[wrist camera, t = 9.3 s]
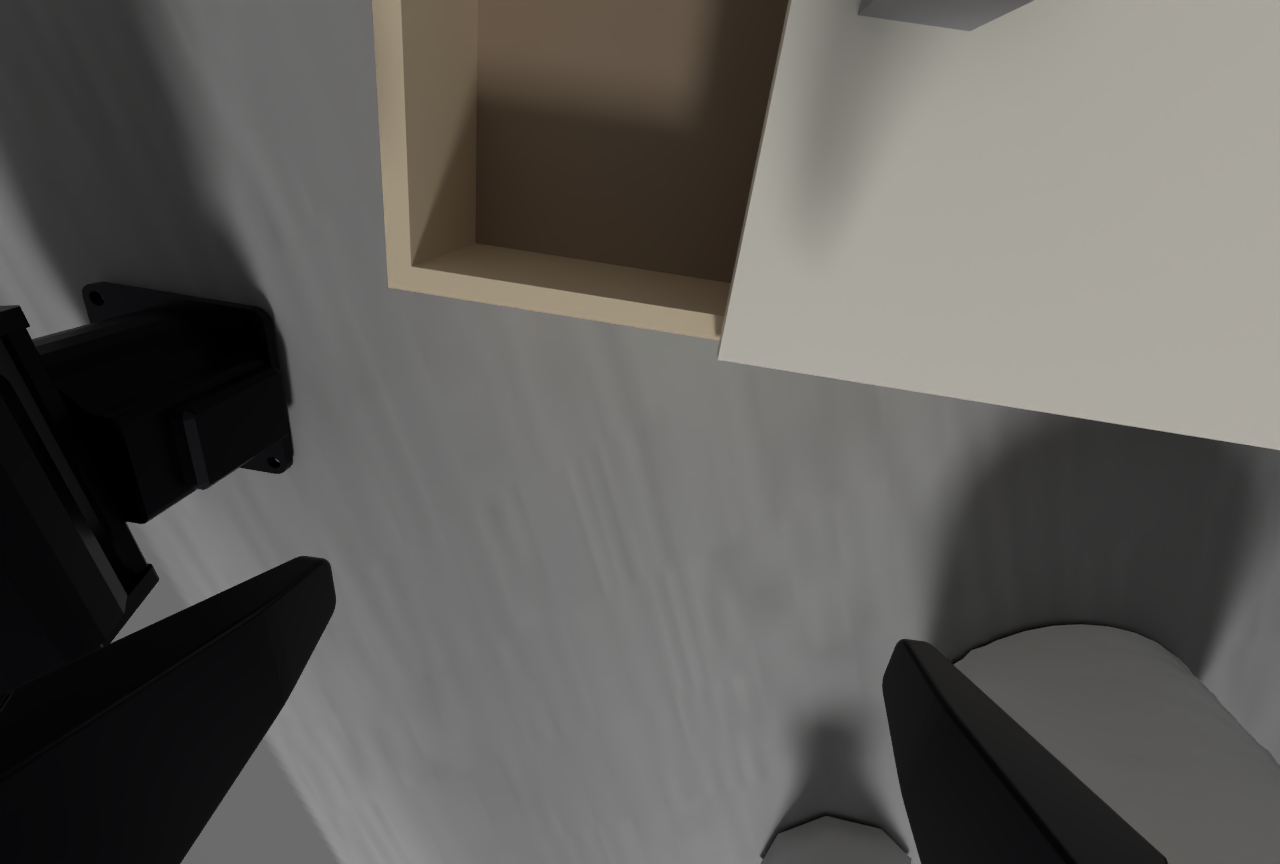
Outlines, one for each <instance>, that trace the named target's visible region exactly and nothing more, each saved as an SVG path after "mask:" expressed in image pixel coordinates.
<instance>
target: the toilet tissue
mask: <svg viewBox="0 0 1280 864" xmlns="http://www.w3.org/2000/svg"><path fill="white" fill-rule="evenodd" d="M953 665H954V666H955V667H956V668H957V669H959V670H960V671H961V672H962V673H963V674H964V675H965V676H966V677H967V678H968V679H970V680H971V681H972V682H973V683H974V684H975V685H976V686H977V687H978V688H980V689H981V690H982V691H983V692H984V693H985V694H986V695H987V696H988V697H989V698H991V699H992V700H993V701H994V702H995V703H996V704H997V705H998V706H999V707H1000V708H1002V709H1003V710H1004V711H1005V712H1006V713H1007V714H1008V715H1009V716H1010V717H1011V718H1013V719H1014V720H1015V721H1016V722H1017V723H1018V724H1019V725H1020V726H1021V727H1023V728H1024V729H1025V730H1026V731H1027V732H1028V733H1029V734H1030V735H1031V736H1032V737H1034V738H1035V739H1036V740H1037V741H1038V742H1039V743H1040V744H1041V745H1042V746H1043V747H1045V748H1046V749H1047V750H1048V751H1049V752H1050V753H1051V754H1052V755H1053V756H1054V757H1056V758H1057V759H1058V760H1059V761H1060V762H1061V763H1062V764H1063V765H1064V766H1066V767H1067V768H1068V769H1069V770H1070V771H1071V772H1072V773H1073V774H1074V775H1075V776H1077V777H1078V778H1079V779H1080V780H1081V781H1082V782H1083V783H1084V784H1085V785H1086V786H1088V787H1089V788H1090V789H1091V790H1092V791H1093V792H1094V793H1095V794H1096V795H1097V796H1099V797H1100V798H1101V799H1102V800H1103V801H1104V802H1105V803H1106V804H1107V805H1109V806H1110V807H1111V808H1112V809H1113V810H1114V811H1115V812H1116V813H1117V814H1118V815H1120V816H1121V817H1122V818H1123V819H1124V820H1125V821H1126V822H1127V823H1128V824H1129V825H1131V826H1132V827H1133V828H1134V829H1135V830H1136V831H1137V832H1138V833H1139V834H1140V835H1142V836H1143V837H1144V838H1145V839H1146V840H1147V841H1148V842H1149V843H1150V844H1152V845H1153V846H1154V847H1155V848H1156V849H1157V850H1158V851H1159V852H1160V853H1161V854H1163V855H1164V856H1165V857H1166V859H1167V861H1168V864H1280V765H1279V764H1278V763H1277V762H1276V760H1275V759H1274V757H1273V756H1272V755H1271V753H1270V752H1269V751H1268V750H1267V749H1265V748H1264V747H1263V746H1261V745H1260V744H1259V743H1258V742H1257V741H1256V740H1255V739H1254V738H1253V737H1252V736H1251V735H1250V734H1249V733H1248V732H1247V731H1246V730H1245V729H1244V728H1243V727H1242V726H1241V724H1240V723H1239V722H1238V721H1237V720H1236V718H1235V717H1234V716H1233V715H1232V714H1231V713H1230V712H1229V711H1228V710H1227V709H1226V708H1224V707H1223V706H1222V704H1221V703H1220V701H1219V700H1218V699H1217V698H1216V696H1215V695H1214V694H1213V693H1212V692H1210V691H1209V690H1208V688H1207V687H1206V686H1205V685H1204V684H1203V683H1202V681H1201V680H1200V679H1198V678H1197V677H1195V676H1194V675H1193V673H1192V672H1191V671H1190V669H1189V668H1188V667H1187V666H1186V665H1185V664H1184V663H1183V662H1182V661H1181V660H1180V659H1179V658H1178V657H1176V656H1175V655H1173V654H1172V653H1171V652H1169V651H1168V650H1166V649H1165V648H1164V647H1162V646H1161V645H1160V644H1158V643H1157V642H1155V641H1152V640H1150V639H1148V638H1146V637H1143V636H1141V635H1139V634H1137V633H1134V632H1130V631H1126V630H1122V629H1117V628H1113V627H1109V626H1097V625H1084V624H1077V625H1060V626H1049V627H1044V628H1039V629H1034V630H1028V631H1023V632H1020V633H1017V634H1014V635H1011V636H1008V637H1005V638H1002V639H999V640H996V641H994V642H992V643H990V644H988V645H986V646H984V647H980V648H977V649H973V650H971V651H970V652H969V653H968V654H967V655H966V656H965V657H964V658H963V659H962V660H960V661H958V662H957V663H955V664H953Z"/></svg>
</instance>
